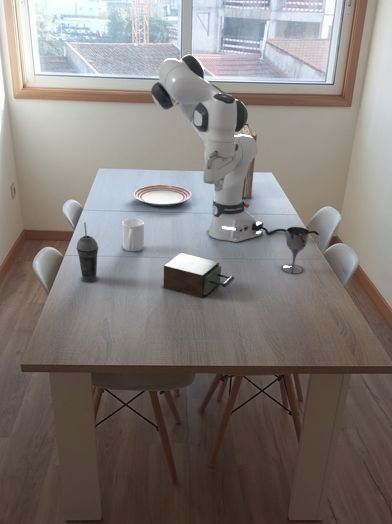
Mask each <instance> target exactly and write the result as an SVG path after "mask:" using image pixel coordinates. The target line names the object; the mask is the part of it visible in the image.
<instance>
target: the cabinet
mask: <svg viewBox="0 0 392 524" xmlns="http://www.w3.org/2000/svg"><path fill="white" fill-rule="evenodd" d="M218 265H220V261H217V260H212V259H208V258H204V257H201V256H195V255H191V254H188V253H182V252H181V253H179V254H178V255H176V256H174V258H172V259H171V260H169V261H168V262H167V263H166V264H164V265H163V288H164V289H168V290H172V291H176V292H180V293H183V294H187V295H191V296H195V297H198V298H203V297H205V295H203V285H204V276H206V275H207V274H208V273H209V272H210V271H211V270H213V269H214V268H216V267H217V266H218Z"/></svg>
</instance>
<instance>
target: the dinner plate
mask: <svg viewBox="0 0 392 524" xmlns="http://www.w3.org/2000/svg"><path fill="white" fill-rule="evenodd" d="M133 197H134V198H135V199H136V200H138V201H140V202H142V203H145V204H148V205H151V206H157V207H171V206H174V205H175V206H176V205H179V204H183V203H184V202H187V201H188V200H190V199H191V198H192V192H191V191H190V190H189V189H187V188H184V187H182V186H177V185H172V184H151V185H146V186H142V187H139V188H137V189H136V190H135V191H134V192H133Z"/></svg>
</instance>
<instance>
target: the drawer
mask: <svg viewBox="0 0 392 524" xmlns="http://www.w3.org/2000/svg"><path fill="white" fill-rule="evenodd" d="M221 278H224V279H226V280H225V281H224V282H221ZM234 280H235V277H234V275H231V276H228V275H224V274H222V265H220V264H219V265H218V266H217V267H216V268H214V269H213V270H211V271H210V272H209V273H208V274H207V275H206V276H205V277H204V285H203V295H204V296H207V295H208V294H209V293H210V292H211V291H213V290H214V289H215V288H216V287H217V286H222V288H226V287H228V286H229V285H230V284H231V283H232V282H233V281H234Z"/></svg>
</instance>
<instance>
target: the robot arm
mask: <svg viewBox="0 0 392 524" xmlns="http://www.w3.org/2000/svg"><path fill="white" fill-rule="evenodd" d="M150 94H151V96H152V99H153V102H154V103H155V105H157V106H158V107H160V108H161V109H163V110H167V111H168V110H169V109H172V108H173V107H174V106H175V105H176V104H178V105H179V108H180V110H181V111H182V113H183V116H184V117H185V118H186V120H187V121H188V123H189V124H190V126H191V127H192V129H194V131H195V132H196V133H197V134H198V135H199V137H200V139H201V141H202V142H203V145H204V154H203V155H204V156H203V157H204V166H203V175H202V181H203V183H205V184H209V185H214V199H212V200H213V201H212V219H211V222H210V226H209V230H208V235H209V236H210V237H211V238H213V239H217V240H220V241H228V242H229V241H230V242H234V243H238V242H242V241H245V240H249V239H252V238H256V237H260V236H261V235H262V230H263V231H264V232H265V234H266V235H271V234H274V233H277V232H285V233H287V229H286V228H275V229H273V230H271V231H269V230H268V229H267V228H266V227H264V222H263V221H257V219H256V218H255V217H254V216H253V215H252V214H250V213H249V212H248V211H247V210H246V209H249V208H250V206H251V205H250V203H249V202H247V201H243V197H242V191H243V184H244V179H245V176H246V173H247V170H248V168H249V165H250V163H251V161H252V160H253V158H254V157H255V158H256V156H257V154H258V143H257V140H256V141H255V140H254V138H253V137H251V136H248V135H237V136H235V132H239V131H240V130H241V129H242V128H243V127H244V125H245V124H247V122H248V117H249V114H248V109H247V107H246V105H245V104H244V103H243V102H242V101H241V100H240V99H236V97H234V96H233V95H231V94H228V93H226V92H225V91H223V90H222V89H220V88H219V87H217V86H216V85H215V84H213V83H211V82H210V81H208V80H206V79H205V71H204V67H203V64H202V62H201V61H200V60H199V58H197V57H196V56H194V55H193V54H186V55H184V56H182V57H181V59H180V60H178V59H177V58H173V57H172V58H166V59H165V60H164V61H162V62H161V64H160V65H159V68H158V80H157V81H156V82H155V83H154V84H153V85H152V87H151V91H150ZM310 234H315V235H316V236H319V235H320V233H319V232H318V231H316V230H309V235H310Z"/></svg>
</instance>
